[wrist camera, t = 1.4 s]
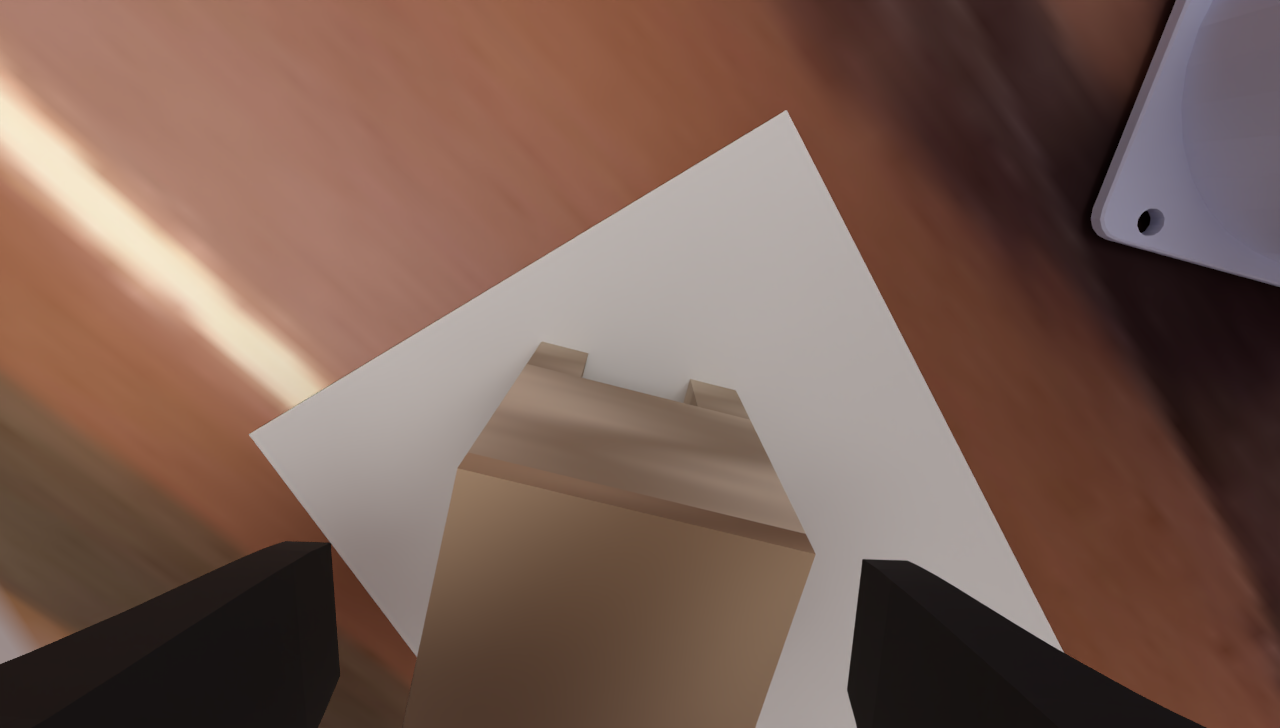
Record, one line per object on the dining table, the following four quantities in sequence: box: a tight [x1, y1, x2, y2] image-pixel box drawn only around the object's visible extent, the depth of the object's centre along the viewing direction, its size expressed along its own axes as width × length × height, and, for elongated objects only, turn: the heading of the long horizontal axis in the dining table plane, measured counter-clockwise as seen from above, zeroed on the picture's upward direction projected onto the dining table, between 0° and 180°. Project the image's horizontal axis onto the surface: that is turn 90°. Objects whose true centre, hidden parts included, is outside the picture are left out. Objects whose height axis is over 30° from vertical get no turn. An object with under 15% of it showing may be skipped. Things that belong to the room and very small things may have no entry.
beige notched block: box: [402, 342, 816, 728], centre depth 12 cm, size 4×4×7 cm
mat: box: [249, 110, 1064, 728], centre depth 17 cm, size 23×13×1 cm, turn 30°
